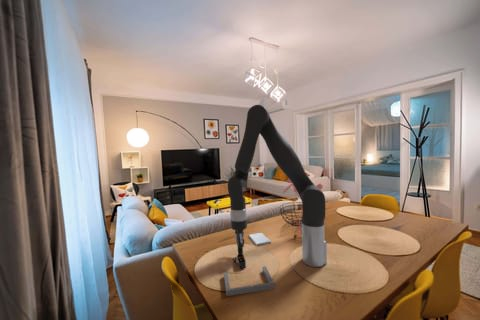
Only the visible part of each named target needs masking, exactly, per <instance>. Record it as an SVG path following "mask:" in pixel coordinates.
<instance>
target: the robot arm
mask: <svg viewBox="0 0 480 320" xmlns="http://www.w3.org/2000/svg"><path fill="white" fill-rule="evenodd" d="M246 114H247V115H246V122H245V129H244V133H243V136H242V140H241V145H240V147H239V151H238V153H237V157H236V160H235V163H234V169H235V170H234V175H233V176H230V178H228V181H227V193H228V196H229V200H230V201H229V202H230V229H232V230H233V231H234V235H235V241H236V247H237V255H240V254H243V255H244V250H243V249H244V247H245V239H244V238H245V232H244V230H246V229H247V228H248V220H247V219H248V217H247V215H248V214H247V209H246V203H247V202H246V197H245V196H244V195H243V193H244V192H243V188H245V187H246V184H247V182H248V178H249V172H250V170H251V169H250V168H251V166H252V163H253V161H254V155H255V152H256V147H257V142H258V139H259V136H260V135H261V137H262V138H263V140H264V142H265V144H266V146H267V149H268V151H269V154H271V156H272V158H273V160H274V162H275V163H276V164H277V166H278V167H279V168H280V170H281V172H282V173H283V174H284V175H285V176H286V177H287V178H288V179H289V180H290V181H291V184H293V185H294V186H295V188H296V190H297V193H298V195H299V196H300V197H299V198H300V200H301V207H302V211H301V212H302V215H301V230H302V233H301V241H302V242H301V243H302V244H301V247H302V250H301V251H302V254H301V257H302V262H303V263H304V264H305V265H307V266H309V267H313V268H319V267H321V268H322V267H323V266H325V265H326V264H327V263H328V257H327V256H328V254H327V253H328V252H327V251H328V249H327V247H328V246H327V241H326V240H325V219H326V196H325V194H324V193H323V191H322V189H321V190H320V189H318V188H317V187H316V186H317V185H315V183H314V182H313V181H312V179H310V177H309V176H308V175H307V173H306V171H305V168H304V167H303V164H302V162H301V160H300V157H299V156H298V155H297V153H296V152H295V150H294V148H293V147H292V146H291V145H290V143H289V141H287V139H286V138H285V137H284V136H283V135H282V134H281V132H280V131H279V130H278V129H277V127H276V126H275V123H274V122H273V120H272V117H271V116H270V114H269V111H268V109H267V108H266V107H265V106H264V105H261V104H254V105H252V106H251V107H250V108H249V109H248V110H247V113H246Z"/></svg>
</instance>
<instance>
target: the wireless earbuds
mask: <svg viewBox="0 0 480 320" xmlns="http://www.w3.org/2000/svg"><path fill="white" fill-rule="evenodd" d="M236 256H237V257H236V258H234V259H233V260H232V261H233V263H235V264H236V263H237V264H238V268H239V270H244V269H243V268H245V269H247V266H246V263H247V262H246V259H245V256H244V253H243V254H240V255H239V254H237V255H236Z"/></svg>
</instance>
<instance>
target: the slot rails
mask: <svg viewBox="0 0 480 320" xmlns="http://www.w3.org/2000/svg"><path fill="white" fill-rule="evenodd" d="M262 273H263V275H265V276H264V278H265V280H266V282H265V283H259V284H251V285H246V286H245V285H244V286H238V287H232V288H230V282H229V280H230V279H229V275H228V271H223V278H224V286H225V287H224V288H225V295H226V297H231V296H237V295H238V296H239V295H242V294H243V295H245V294H250V293H256V292H263V291H267V290H269V291H270V290H275V282H274V281H273V278H272V276H271V274H270V272H269V269H268V268H267V266H266V265H263V266H262Z"/></svg>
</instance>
